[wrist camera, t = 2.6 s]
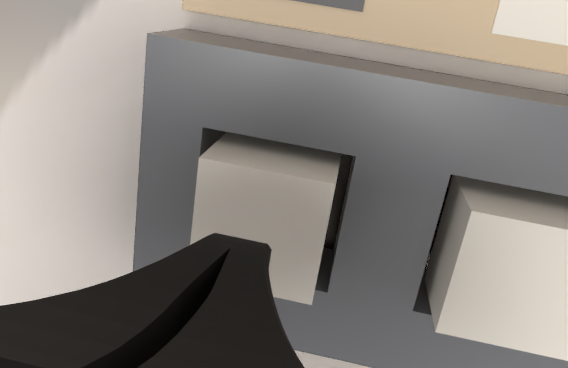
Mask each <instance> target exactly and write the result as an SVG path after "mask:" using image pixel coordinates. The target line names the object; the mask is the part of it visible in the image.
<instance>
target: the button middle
mask: <svg viewBox="0 0 568 368" xmlns="http://www.w3.org/2000/svg"><path fill="white" fill-rule="evenodd" d="M424 279H425V284H426V289H427V294H428V299H429V303H430V308H431V313H432V318H433V323H434V328H435V332H437V333H441V334H446V335H451V336H455V337H460V338H464V339H469V340H474V341H478V342H483V343H487V344H492V345H497V346H501V347H506V348H510V349H515V350H519V351H524V352H529V353H533V354H538V355H542V356H547V357H552V358H556V359H561V360H565V361H568V197H567V196H562V195H557V194H552V193H546V192H541V191H536V190H531V189H525V188H520V187H515V186H509V185H504V184H499V183H494V182H488V181H483V180H478V179H473V178H467V177H462V176H457V175H453V177H452V181H451V185H450V188H449V192H448V195H447V199H446V202H445V206H444V210H443V213H442V217H441V220H440V224H439V228H438V231H437V235H436V238H435V242H434V245H433V249H432V253H431V256H430V260H429V263H428V267H427V270H426V274H425V278H424Z"/></svg>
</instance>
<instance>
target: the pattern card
mask: <svg viewBox="0 0 568 368" xmlns="http://www.w3.org/2000/svg"><path fill="white" fill-rule="evenodd" d="M182 10H188V11H194V12H200V13H206V14H212V15H218V16H224V17H230V18H235V19H241V20H247V21H253V22H259V23H265V24H271V25H277V26H283V27H289V28H294V29H300V30H306V31H312V32H318V33H324V34H330V35H336V36H342V37H347V38H353V39H359V40H365V41H371V42H377V43H383V44H389V45H395V46H401V47H406V48H412V49H418V50H424V51H430V52H436V53H442V54H448V55H454V56H460V57H465V58H471V59H477V60H483V61H489V62H495V63H501V64H507V65H513V66H518V67H524V68H530V69H536V70H542V71H548V72H554V73H560V74H566V75H568V0H183V4H182Z"/></svg>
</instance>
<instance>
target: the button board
mask: <svg viewBox="0 0 568 368" xmlns="http://www.w3.org/2000/svg"><path fill="white" fill-rule="evenodd" d="M226 132H231V133H236V134H241V135H247V136H252V137H257V138H262V139H268V140H273V141H278V142H283V143H289V144H294V145H299V146H304V147H310V148H315V149H320V150H325V151H331V152H336V153H341V154H346V155H352V156H353V159H352V164H351V168H350V173H349V178H348V183H347V188H346V192H345V197H344V202H343V207H342V212H341V217H340V221H339V226H338V231H337V236H336V241H335V246H334V250H332V249H328V248H323V252H322V257H321V262H320V267H319V272H318V277H317V282H316V287H315V292H314V297H313V302H312V305H308V304H304V303H299V302H295V301H290V300H285V299H281V298H276V297H273V298H274V302H275V305H276V309H277V312H278V315H279V318H280V321H281V323H282V326H283V328H284V331H285V333H286V335H287V337H288V340H289V342H290V344H291V346H292V348H293V349H294V350H297V351H302V352H306V353H311V354H315V355H319V356H324V357H328V358H333V359H337V360H341V361H346V362H350V363H355V364H359V365H363V366H368V367H372V368H568V361H565V360H561V359H556V358H552V357H547V356H542V355H538V354H533V353H529V352H524V351H519V350H515V349H510V348H506V347H501V346H497V345H492V344H487V343H483V342H478V341H474V340H469V339H464V338H460V337H455V336H451V335H446V334H441V333H437V332H435V328H434V323H433V318H432V313H431V308H430V303H429V299H428V294H427V289H426V284H425V279H424V278H425V274H426V270H427V269H425V265H426V262H427V258H428V254H429V251H430V247H431V244H432V240H433V236H434V233H435V229H436V226H437V222H438V218H439V215H440V211H441V208H442V204H443V200H444V197H445V193H446V190H447V186H448V182H449V179H450V175H451V174H452V175H457V176H462V177H467V178H473V179H478V180H483V181H488V182H494V183H499V184H504V185H509V186H515V187H520V188H525V189H531V190H536V191H541V192H546V193H552V194H557V195H562V196H567V197H568V95H565V94H559V93H553V92H547V91H542V90H536V89H530V88H524V87H519V86H513V85H507V84H501V83H495V82H490V81H484V80H478V79H472V78H467V77H461V76H455V75H449V74H443V73H438V72H432V71H426V70H420V69H414V68H409V67H403V66H397V65H391V64H386V63H380V62H374V61H368V60H362V59H357V58H351V57H345V56H339V55H334V54H328V53H322V52H316V51H310V50H305V49H299V48H293V47H287V46H282V45H276V44H270V43H264V42H258V41H253V40H247V39H241V38H235V37H230V36H224V35H218V34H212V33H206V32H201V31H195V30H189V29H177V30H169V31H162V32H154V33H147V45H146V62H145V78H144V95H143V111H142V128H141V144H140V161H139V177H138V194H137V210H136V227H135V243H134V260H133V271H136V270H138V269H140V268H143V267H145V266H147V265H150V264H152V263H154V262H157V261H159V260H161V259H163V258H165V257H167V256H169V255H171V254H173V253H175V252H177V251H179V250H181V249H183V248H185V247H187V246H189V245H190V240H191V230H192V221H193V211H194V201H195V191H196V181H197V171H198V161H199V157H200V156H201V155H202V154H203V153H205V152H206V151H207V150H208V149H209V148H210V147H211V146H212V145H213V144H214V143H216V142H217V141H218V140H219V139H220V138H221V137H222V136H223V135H224V134H225V133H226Z"/></svg>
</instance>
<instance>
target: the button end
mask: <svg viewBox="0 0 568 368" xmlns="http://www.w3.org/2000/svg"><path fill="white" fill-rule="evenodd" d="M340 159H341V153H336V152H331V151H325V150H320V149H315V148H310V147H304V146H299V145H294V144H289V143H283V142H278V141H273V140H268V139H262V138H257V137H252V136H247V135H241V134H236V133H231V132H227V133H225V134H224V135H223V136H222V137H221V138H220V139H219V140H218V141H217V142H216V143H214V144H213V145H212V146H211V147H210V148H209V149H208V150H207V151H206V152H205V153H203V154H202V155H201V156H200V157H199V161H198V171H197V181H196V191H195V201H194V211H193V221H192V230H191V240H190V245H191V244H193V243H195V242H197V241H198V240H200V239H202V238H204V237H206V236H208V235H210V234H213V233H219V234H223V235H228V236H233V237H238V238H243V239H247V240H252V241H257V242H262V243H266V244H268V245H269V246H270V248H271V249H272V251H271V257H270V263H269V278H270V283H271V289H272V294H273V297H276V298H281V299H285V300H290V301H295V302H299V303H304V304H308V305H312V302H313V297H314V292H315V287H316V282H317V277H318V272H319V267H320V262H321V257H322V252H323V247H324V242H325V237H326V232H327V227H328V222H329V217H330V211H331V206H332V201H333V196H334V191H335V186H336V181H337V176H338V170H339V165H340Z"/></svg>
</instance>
